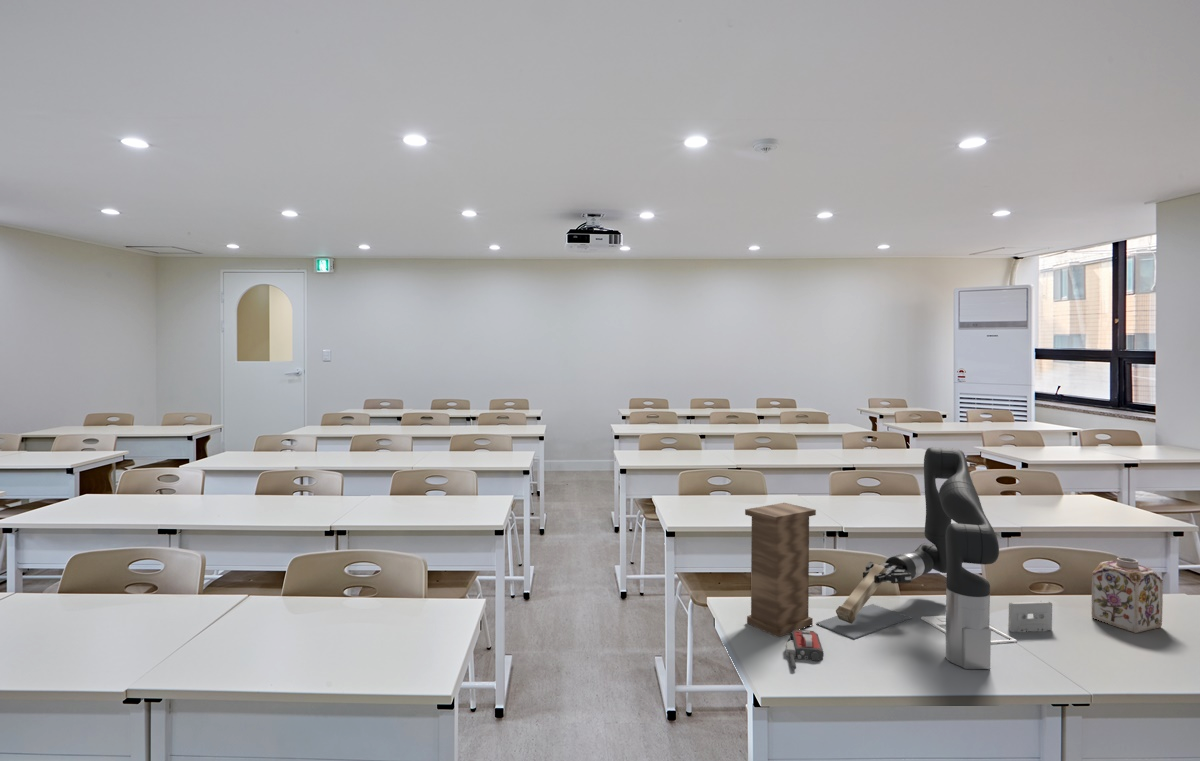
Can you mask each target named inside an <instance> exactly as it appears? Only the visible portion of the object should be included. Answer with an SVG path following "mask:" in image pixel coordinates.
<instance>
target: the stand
mask: <svg viewBox="0 0 1200 761" xmlns="http://www.w3.org/2000/svg"><path fill="white" fill-rule="evenodd" d="M744 510H745V511H744V515H745V516H749V517H751V542H750V543H751V544H750V545H751V551H750V552H751V557H750V558H751V559H750V560H751V562H750V563H751V570H750V573H751V574H750V576H751V577H750V578H751V581H750V583H751V584H750V587H751V589H750V590H751V591H750V594H751V595H750V596H751V597H750V615H747V616H746V623H747V624H748V625H750V626H751V627H754V628H757V629H759V630H761V631H763V632H766V633H768V634H770V635H772V636H775V637H776V638H778V637H779V638H780V637H781V636H785V634H786V635H788V633H789V634H790V633H791V632H792V631H794V630H799V629H800V630H802V629H801V628H803V629H805V628H804V627H806V628H808V627H807V626H809V627H811V626H810V625H812V626H813V624H814V623H813V617H811V616H809V605H810V604H809V601H810V600H809V593H810V590H809V588H810V587H809V585H810V583H809V582H810V581H809V579H810V578H809V577H810V576H809V575H810V574H809V573H810V572H809V571H810V564H809V563H810V517H812V516H813V517H814V516H816V515H817V514H816V513H817V510H816V509H814V508H810V507H807V506H806V507H805V506H801V505H795V504H792V503H788V502H787V503H786V502H780V503H774V504H770V505H769V504H768V505H763V506H758V507H751V508H747V509H744Z"/></svg>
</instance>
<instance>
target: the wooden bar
mask: <svg viewBox="0 0 1200 761" xmlns="http://www.w3.org/2000/svg"><path fill="white" fill-rule="evenodd" d="M884 572H886V569H885V567H884V566H881V565H879V564H877V563H874V566H873V567H872V568H871V570H870V571H869V573H868V574H867V575H866V576H865V577H864V578H863V577H862V579H861V581H860V582H859V583H858V585H857V586H856V587H855V588H854V589H853V591H852V592H851V593H850V594H849V595H848V597H847V598H846V600H845V601H844V602H843V604H841V605H839V606H838V607H837V608H836V610H835V613H836V616H838V618H839V619H840V620H843V621H846V622H848V623H851V624H852V623H853V621H854V620H855V616H856V615H857V614H858V612H859V611H860V610H861V608H862V607H865V606H866V603H867V602H868V601H869V599H870V598H871V597H872V596H873V594H874V593H875V592H876V590H877V589H878V588H879V586H881V584H882V583H883V582H881V583H875V582H874V576H875V575H877V574H881V573H884Z"/></svg>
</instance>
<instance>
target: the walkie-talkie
mask: <svg viewBox="0 0 1200 761" xmlns="http://www.w3.org/2000/svg"><path fill="white" fill-rule="evenodd" d="M789 637H790V638H789V639H790V640H789V641H787V642H786V643H785V652H786V653H785V656H786V657H787V658H789V660H790V661H789V662H790V666H791V668H792V669H793V670H797V665H796V660H795V659H798V660H801V659H802V660H810V659H811V661H823V660H824V656H825V655H824V650H823V647H822V644H821V641H820V638H819V634H818V633H817V632H816V631H814V630H806V629H805V630H804V629H800V630H794V631H792V633H789Z"/></svg>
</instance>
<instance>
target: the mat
mask: <svg viewBox="0 0 1200 761" xmlns="http://www.w3.org/2000/svg"><path fill="white" fill-rule="evenodd" d="M910 619H911V616H909V615H906V614H903V613H900V612H897V611H895V610H892V609H888V608H886V607H883V606H881V605H877V604H874V603H871V604H869V605H864V606H863V607H862V608H861V610H860V611H859V612H858V614H857V615H856V616H855V620H854V621H853V623H852V624H851V623H848V622H846V621H843V620H840V619H839V618H838V616H837V615H835V616H833V617H829V618H827V619H823V620H821V621H818V622H816V623H817V624H820V625H821V626H820V627H822V626H823V627H822V628H824V627H825V628H824V629H827V628H828V629H827V630H829V629H830V630H829V631H832V630H833V631H832V632H834V631H835V633H836V634H839V633H840V634H839V635H841V634H842V636H844V637H847V638H850V639H852V640H857V639H859V638H862V637H864V636H867V635H870V634H873V633H875V632H878V631H881V630H883V629H886V628H888V627H891V626H893V625H894V626H895V625H897V624H900V623H902V622H905V621H908V620H910ZM817 624H816V625H817Z"/></svg>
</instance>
